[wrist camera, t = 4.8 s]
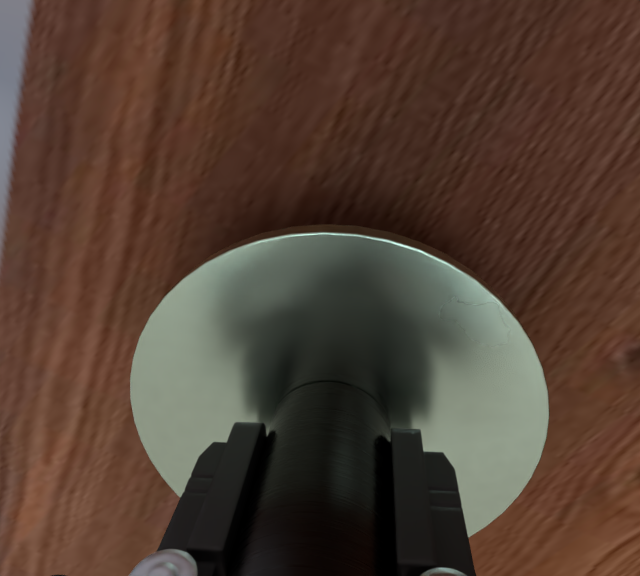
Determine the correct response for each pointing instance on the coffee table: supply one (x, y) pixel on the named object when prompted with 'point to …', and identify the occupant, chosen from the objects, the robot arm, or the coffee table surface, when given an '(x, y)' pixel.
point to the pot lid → (338, 388)
